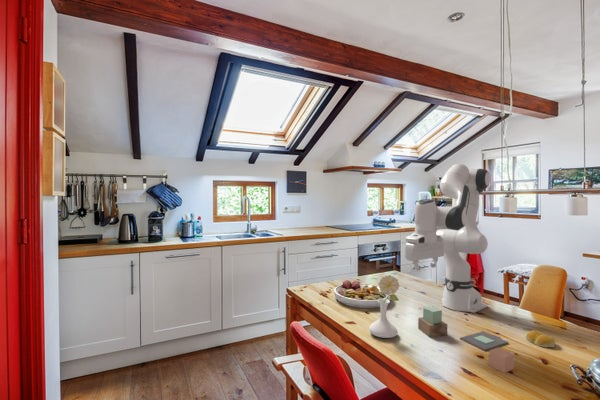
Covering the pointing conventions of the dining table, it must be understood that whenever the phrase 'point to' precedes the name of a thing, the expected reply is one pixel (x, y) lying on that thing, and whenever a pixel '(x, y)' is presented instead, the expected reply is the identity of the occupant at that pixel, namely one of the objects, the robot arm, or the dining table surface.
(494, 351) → the terracotta block
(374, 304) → the bowl
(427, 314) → the green block
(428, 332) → the walnut base block
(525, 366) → the dining table surface
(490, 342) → the card
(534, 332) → the bread roll
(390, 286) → the flower in vase
